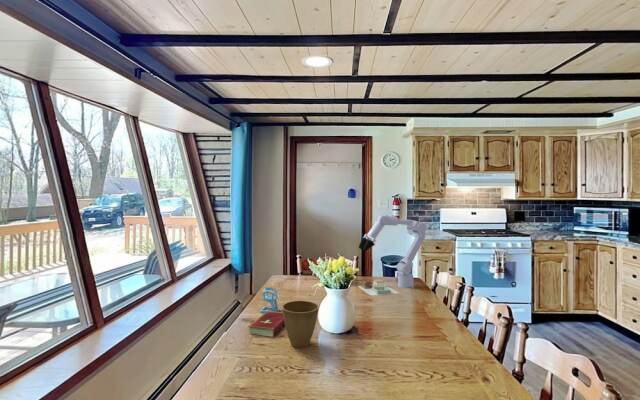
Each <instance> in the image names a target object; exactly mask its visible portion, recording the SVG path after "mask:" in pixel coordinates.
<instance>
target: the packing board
mask: <svg viewBox="0 0 640 400" xmlns="http://www.w3.org/2000/svg"><path fill="white" fill-rule="evenodd" d="M357 287H358V288H359V289H360V290H362V291H363V292H365V293H366V294H367V295H369V296H382V295H383V296H384V295H396V294H399V291H397V290H395V289H394V288H391V287H390V286H388V285H386V284H385V283H384V286H382V287H375V286H374V284H372V288H369V289H365V288H363V287H362V285H357Z"/></svg>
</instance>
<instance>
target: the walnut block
mask: <svg viewBox="0 0 640 400" xmlns="http://www.w3.org/2000/svg"><path fill="white" fill-rule="evenodd" d="M373 284H374V281H371V280H370V279H366V280H365V279H364V280H361V286H362V287H363V288H365V289H369V288H372V285H373Z"/></svg>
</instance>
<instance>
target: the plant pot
mask: <svg viewBox="0 0 640 400" xmlns="http://www.w3.org/2000/svg"><path fill="white" fill-rule="evenodd" d="M281 306H282V313H283V316H284V322H285V326H284V327H285V330H286V333H287V337H288V339H289V342H290V346H292V347H294V348H299V349H300V348H301V349H302V348H306V347H308V346H310V343H311V340H312V337H313V334H314V331H315V327H316V324H317V323H316V322H317V318H318V314H319V307H320V306H319V304H317V303H315V302H313V301H308V300H292V301H291V300H290V301H288V302H286V303H283V305H281Z"/></svg>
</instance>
